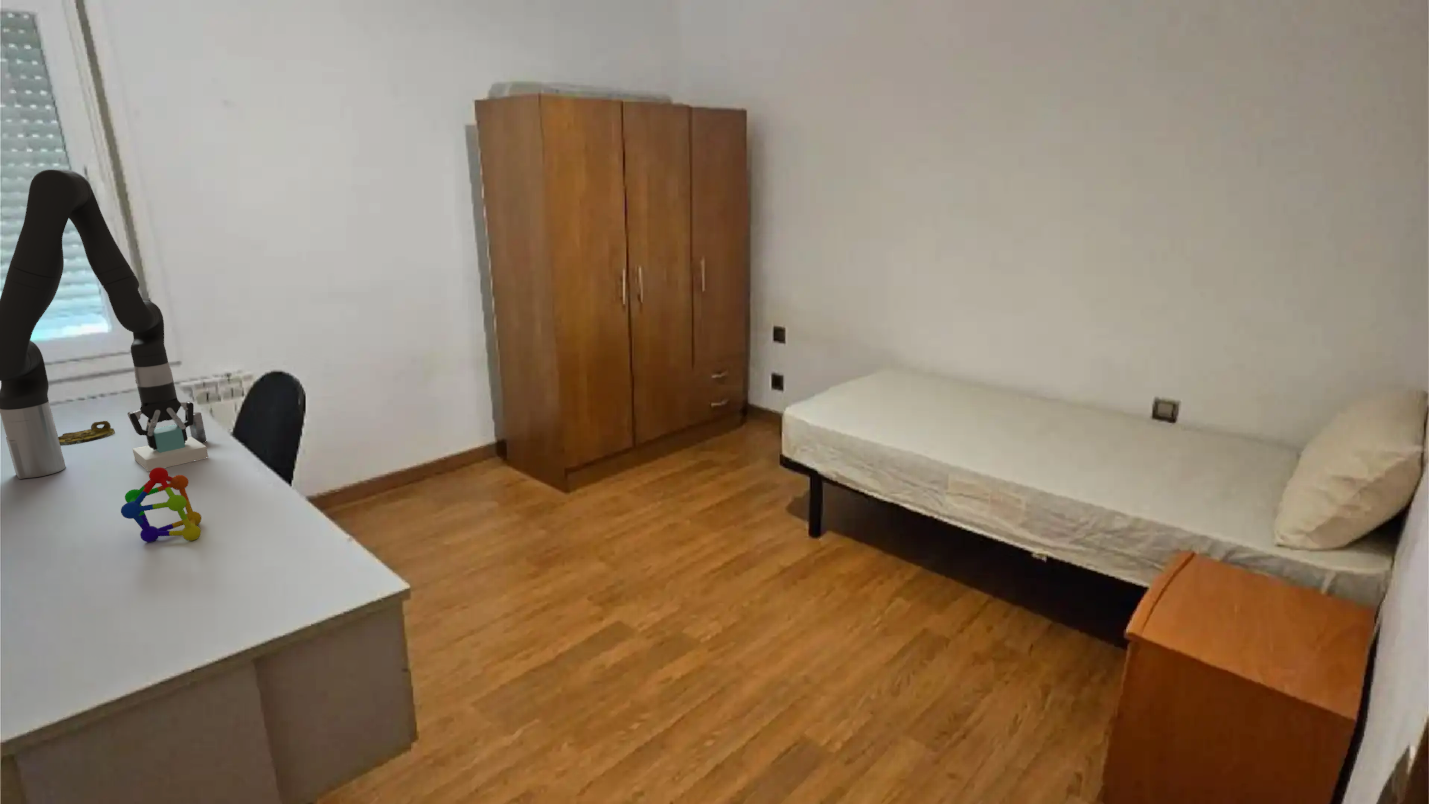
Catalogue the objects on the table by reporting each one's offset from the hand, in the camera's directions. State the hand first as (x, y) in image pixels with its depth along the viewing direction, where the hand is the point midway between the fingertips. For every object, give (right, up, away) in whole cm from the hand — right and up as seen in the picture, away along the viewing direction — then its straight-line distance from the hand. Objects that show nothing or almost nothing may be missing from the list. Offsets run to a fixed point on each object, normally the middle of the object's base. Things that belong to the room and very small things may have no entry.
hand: (169, 445), depth 199 cm
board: (0, -3, +1) cm, 4 cm away
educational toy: (+31, -16, -45) cm, 57 cm away
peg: (-1, 0, +14) cm, 14 cm away
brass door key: (-37, 0, +19) cm, 42 cm away
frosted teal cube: (0, 0, 0) cm, 0 cm away
